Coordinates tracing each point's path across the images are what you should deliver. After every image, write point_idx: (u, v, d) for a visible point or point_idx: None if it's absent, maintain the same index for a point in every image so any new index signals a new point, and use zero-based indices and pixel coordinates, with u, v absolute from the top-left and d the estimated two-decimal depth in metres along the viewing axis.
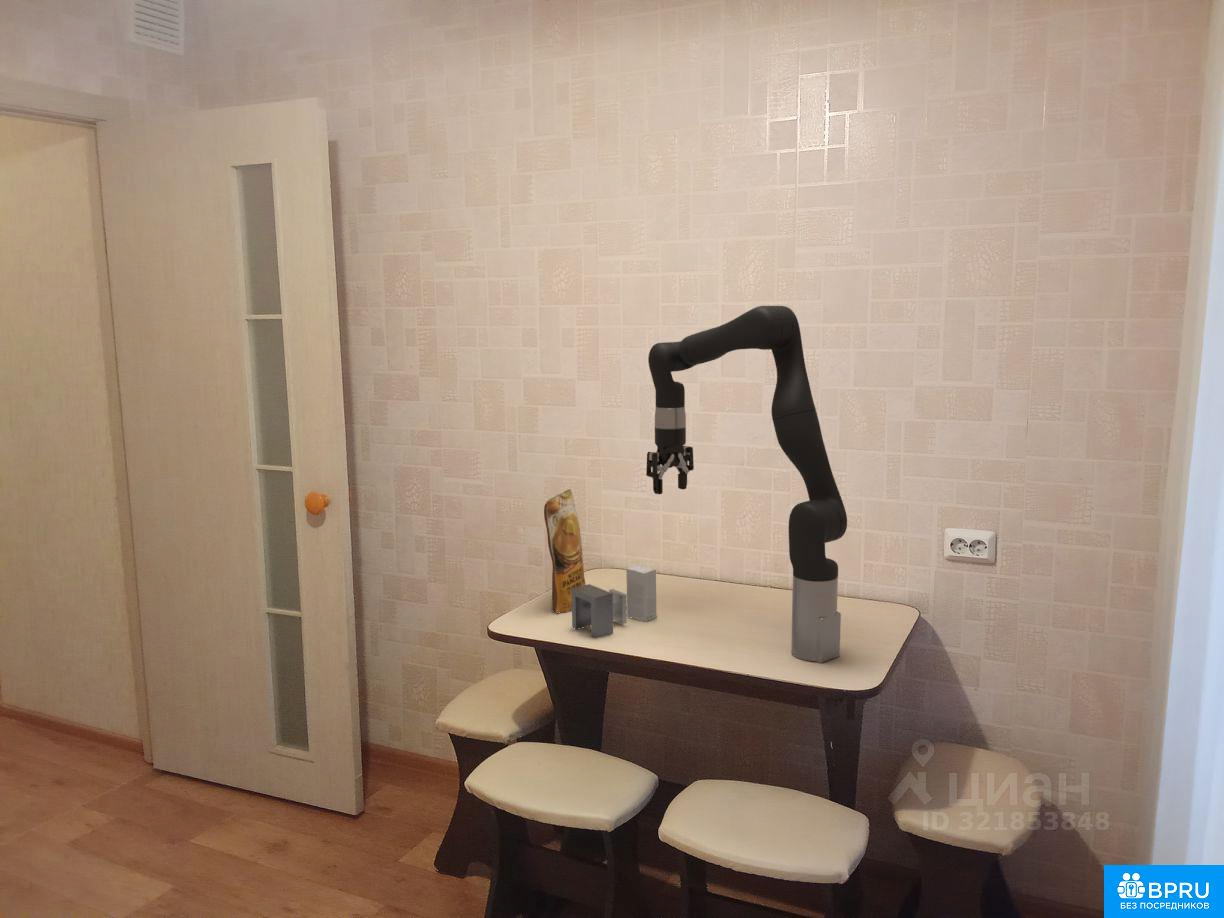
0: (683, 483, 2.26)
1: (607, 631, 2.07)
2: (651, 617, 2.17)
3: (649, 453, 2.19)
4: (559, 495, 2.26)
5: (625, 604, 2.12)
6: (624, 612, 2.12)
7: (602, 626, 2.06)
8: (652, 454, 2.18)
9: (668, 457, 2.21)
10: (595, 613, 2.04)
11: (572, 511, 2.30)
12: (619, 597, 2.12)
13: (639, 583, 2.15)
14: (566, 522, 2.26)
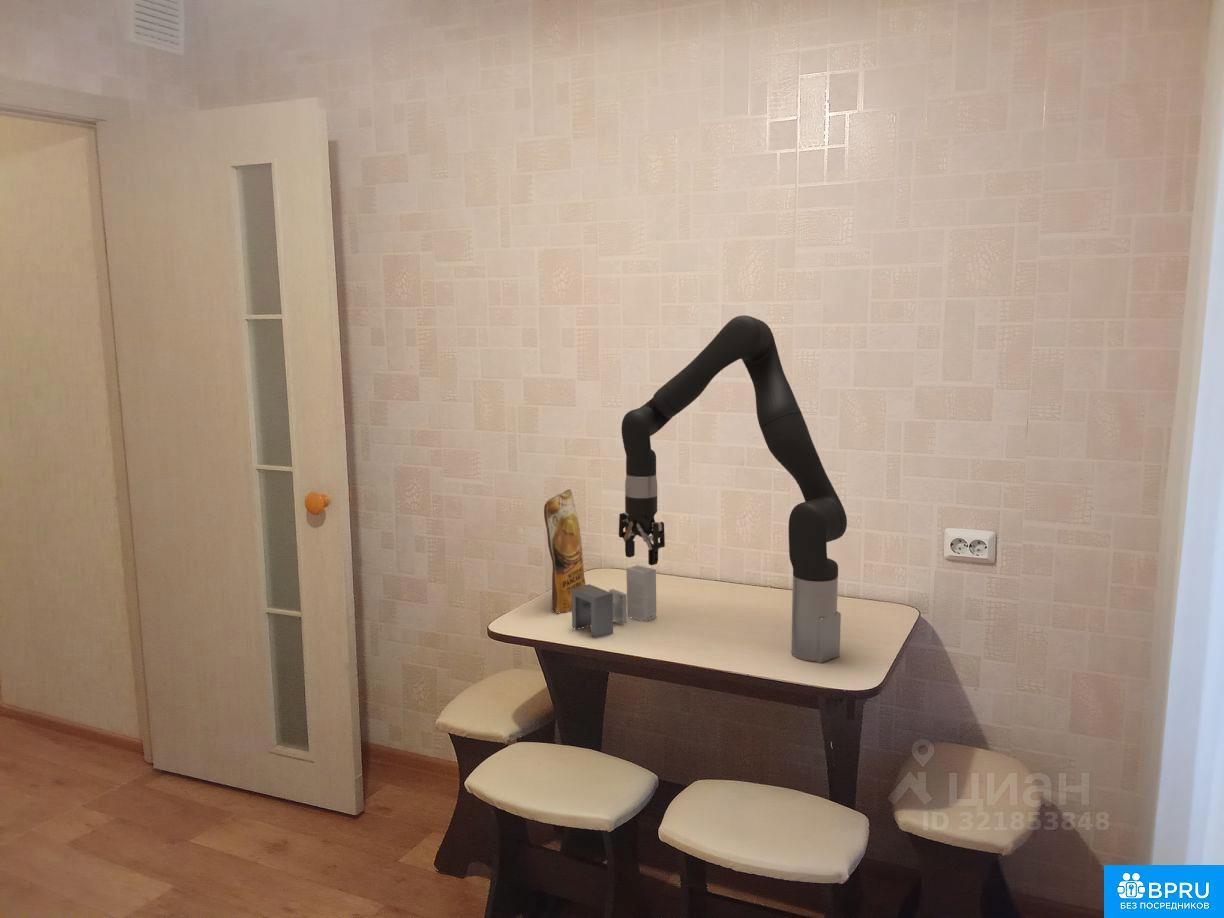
0: (633, 550, 2.20)
1: (607, 631, 2.07)
2: (651, 617, 2.17)
3: (658, 524, 2.10)
4: (559, 495, 2.26)
5: (625, 604, 2.12)
6: (624, 612, 2.12)
7: (602, 626, 2.06)
8: (661, 524, 2.10)
9: None
10: (595, 613, 2.04)
11: (571, 511, 2.30)
12: (619, 597, 2.12)
13: (639, 583, 2.15)
14: (566, 522, 2.26)
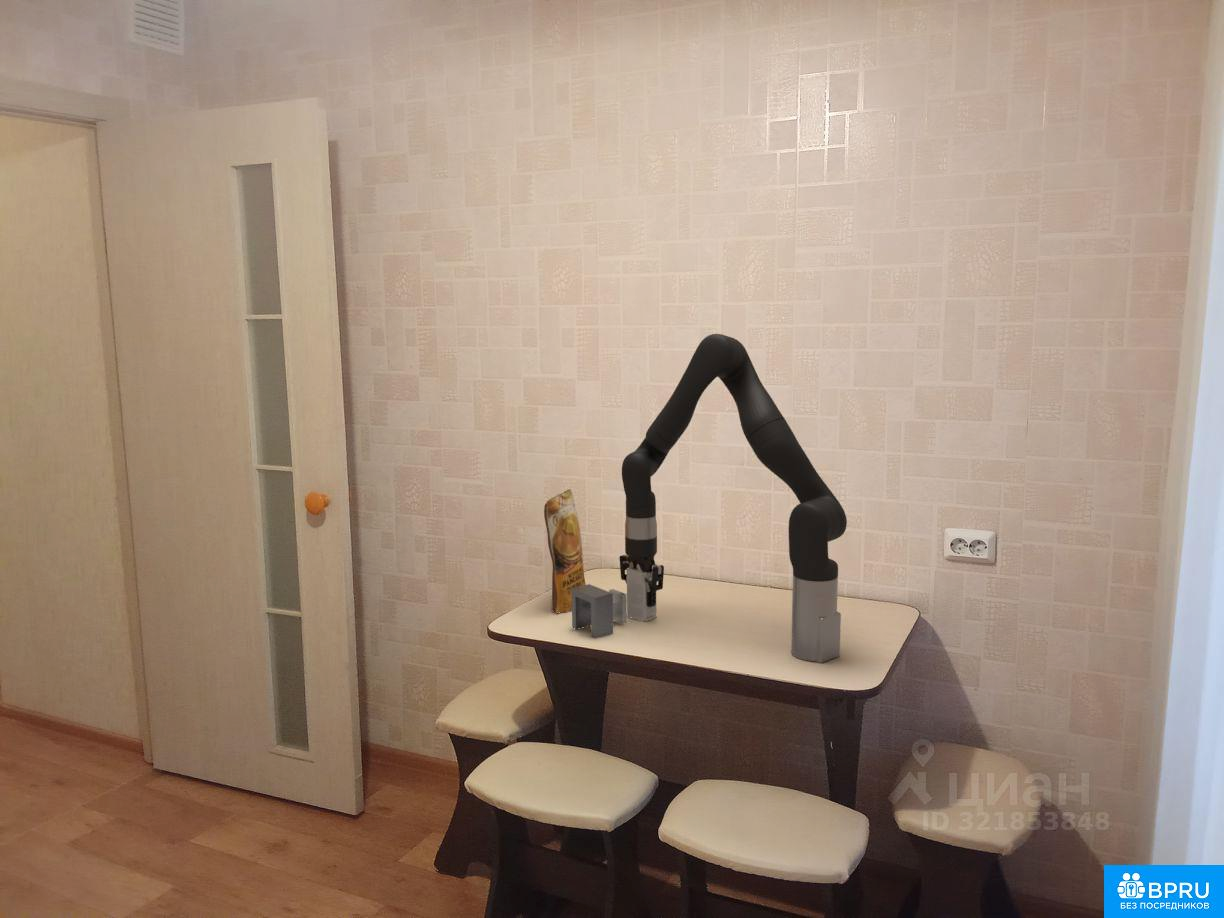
0: None
1: (607, 631, 2.07)
2: (651, 617, 2.17)
3: (658, 568, 2.11)
4: (559, 495, 2.26)
5: (625, 604, 2.12)
6: (624, 612, 2.12)
7: (602, 626, 2.06)
8: (661, 568, 2.12)
9: None
10: (595, 613, 2.04)
11: (572, 511, 2.30)
12: (619, 597, 2.12)
13: (639, 583, 2.15)
14: (566, 522, 2.26)
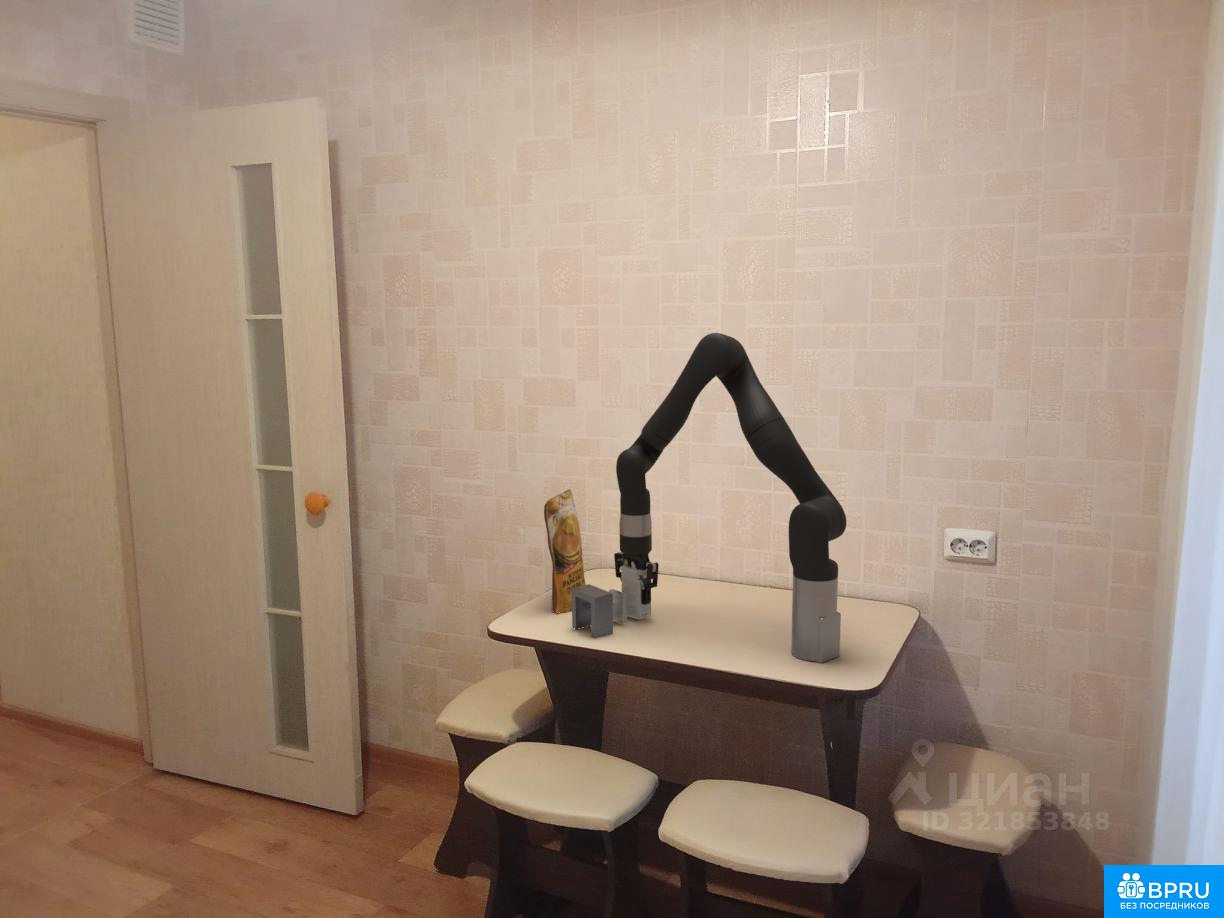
0: None
1: (607, 631, 2.07)
2: (646, 615, 2.16)
3: (652, 565, 2.10)
4: (559, 495, 2.26)
5: (625, 604, 2.12)
6: (624, 612, 2.12)
7: (602, 626, 2.06)
8: (656, 565, 2.11)
9: None
10: (595, 613, 2.04)
11: (571, 511, 2.30)
12: (619, 597, 2.12)
13: (634, 581, 2.14)
14: (566, 522, 2.26)
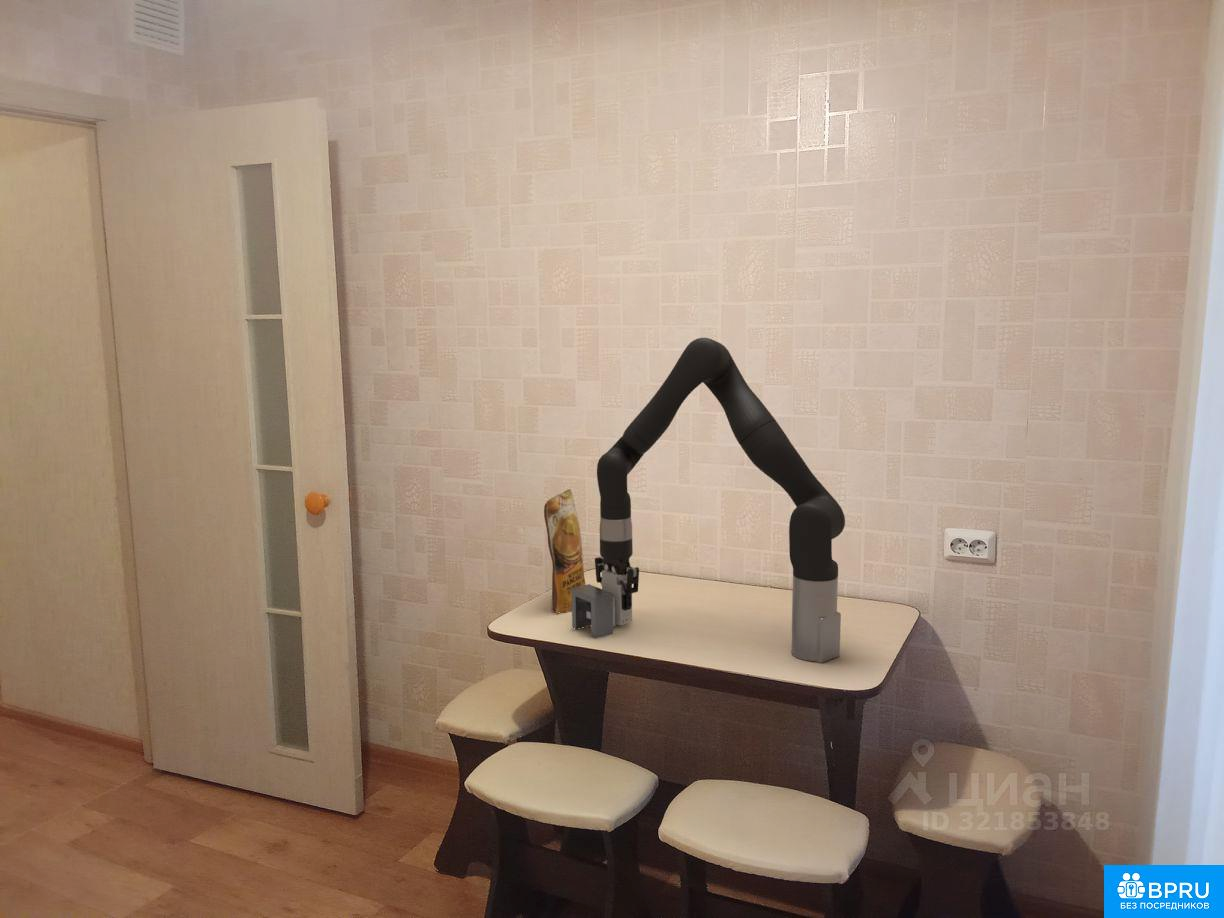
0: None
1: (607, 631, 2.07)
2: (627, 620, 2.12)
3: (632, 570, 2.07)
4: (559, 495, 2.26)
5: (613, 607, 2.10)
6: None
7: (602, 626, 2.06)
8: (636, 570, 2.07)
9: None
10: (595, 613, 2.04)
11: (572, 511, 2.30)
12: None
13: (614, 586, 2.11)
14: (566, 522, 2.26)
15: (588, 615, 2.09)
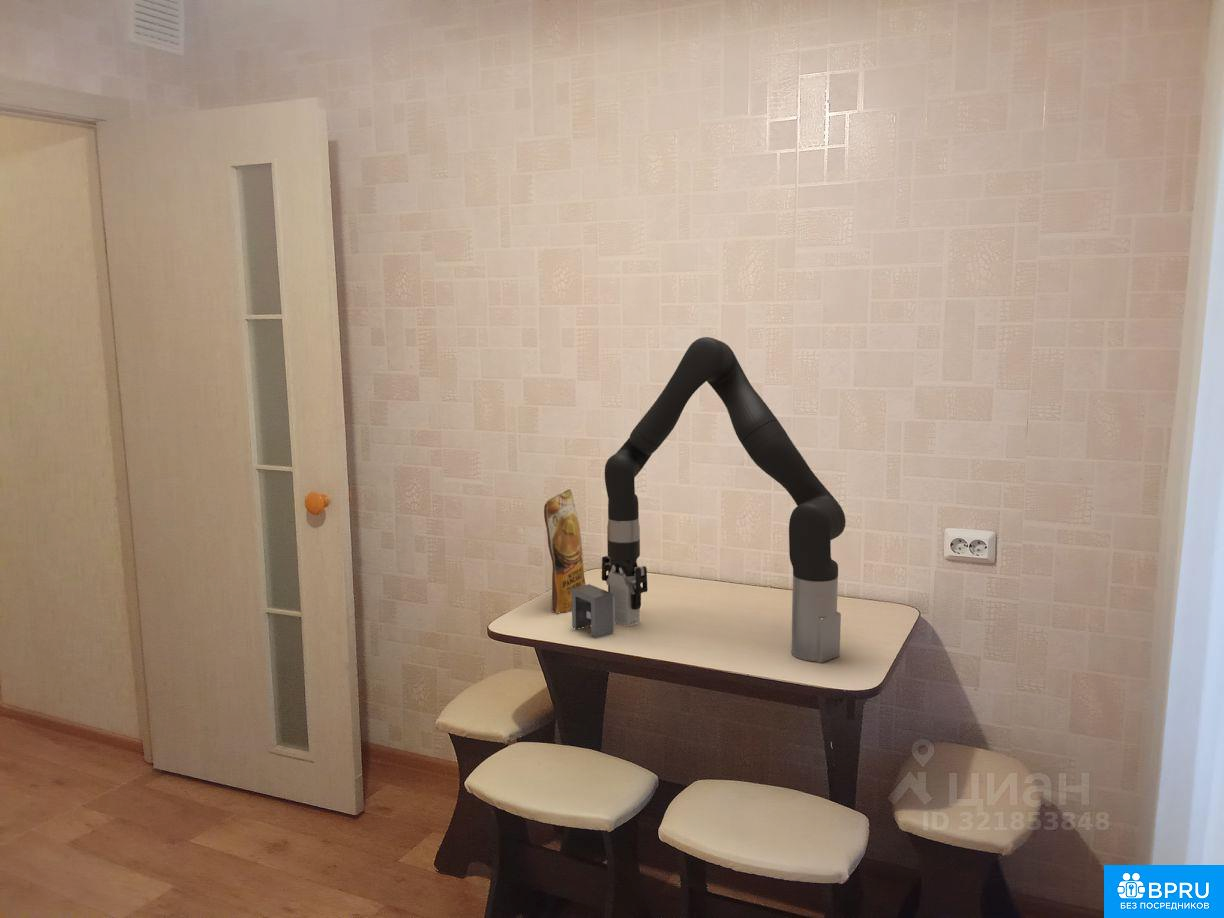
0: None
1: (607, 631, 2.07)
2: (634, 622, 2.14)
3: (640, 569, 2.08)
4: (559, 495, 2.26)
5: (613, 607, 2.10)
6: None
7: (602, 626, 2.06)
8: (644, 569, 2.09)
9: None
10: (595, 613, 2.04)
11: (571, 511, 2.30)
12: None
13: (622, 588, 2.12)
14: (566, 522, 2.26)
15: (588, 615, 2.09)
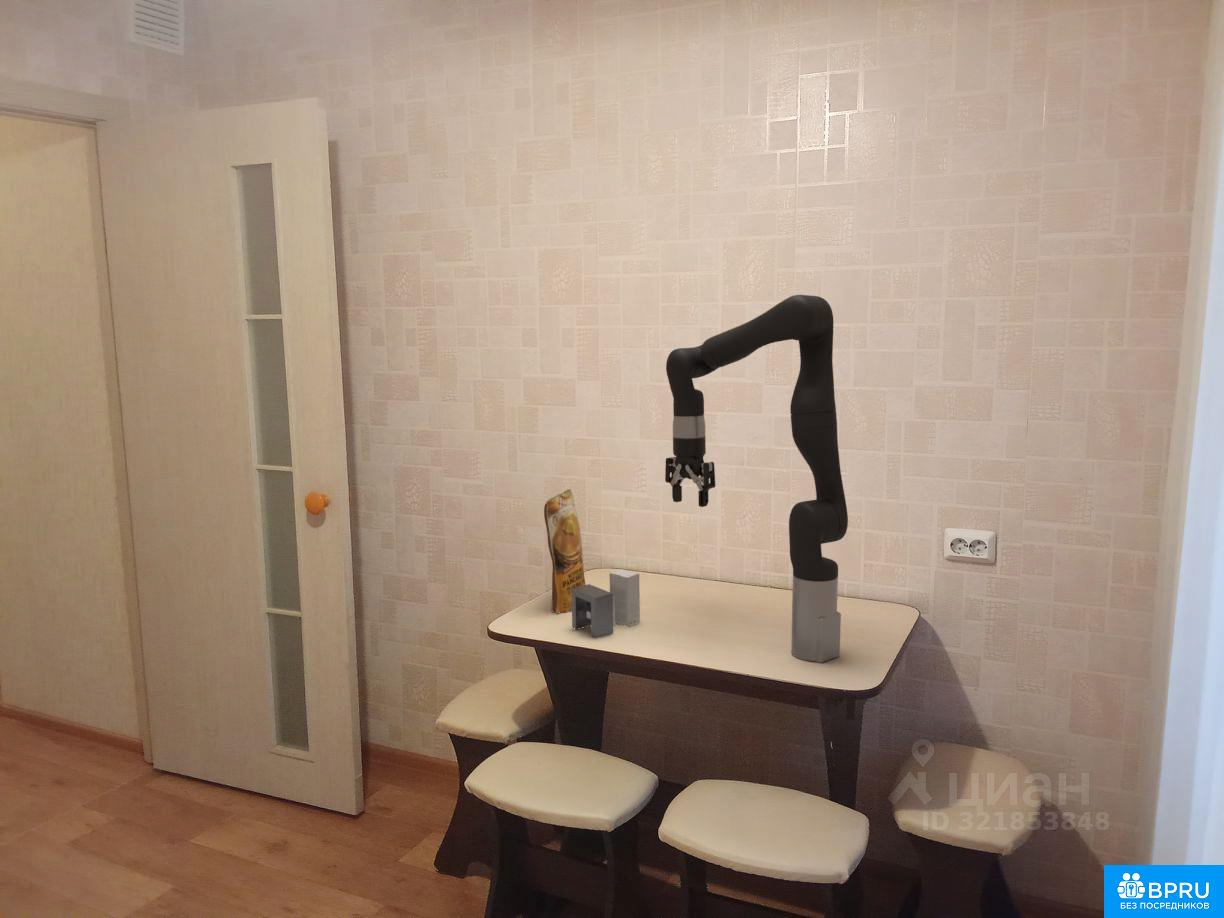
0: (680, 495, 2.18)
1: (607, 631, 2.07)
2: (634, 622, 2.14)
3: (708, 464, 2.07)
4: (559, 495, 2.26)
5: (613, 607, 2.10)
6: None
7: (602, 626, 2.06)
8: (712, 464, 2.08)
9: None
10: (595, 613, 2.04)
11: (572, 511, 2.30)
12: None
13: (622, 588, 2.12)
14: (566, 522, 2.26)
15: (588, 615, 2.09)
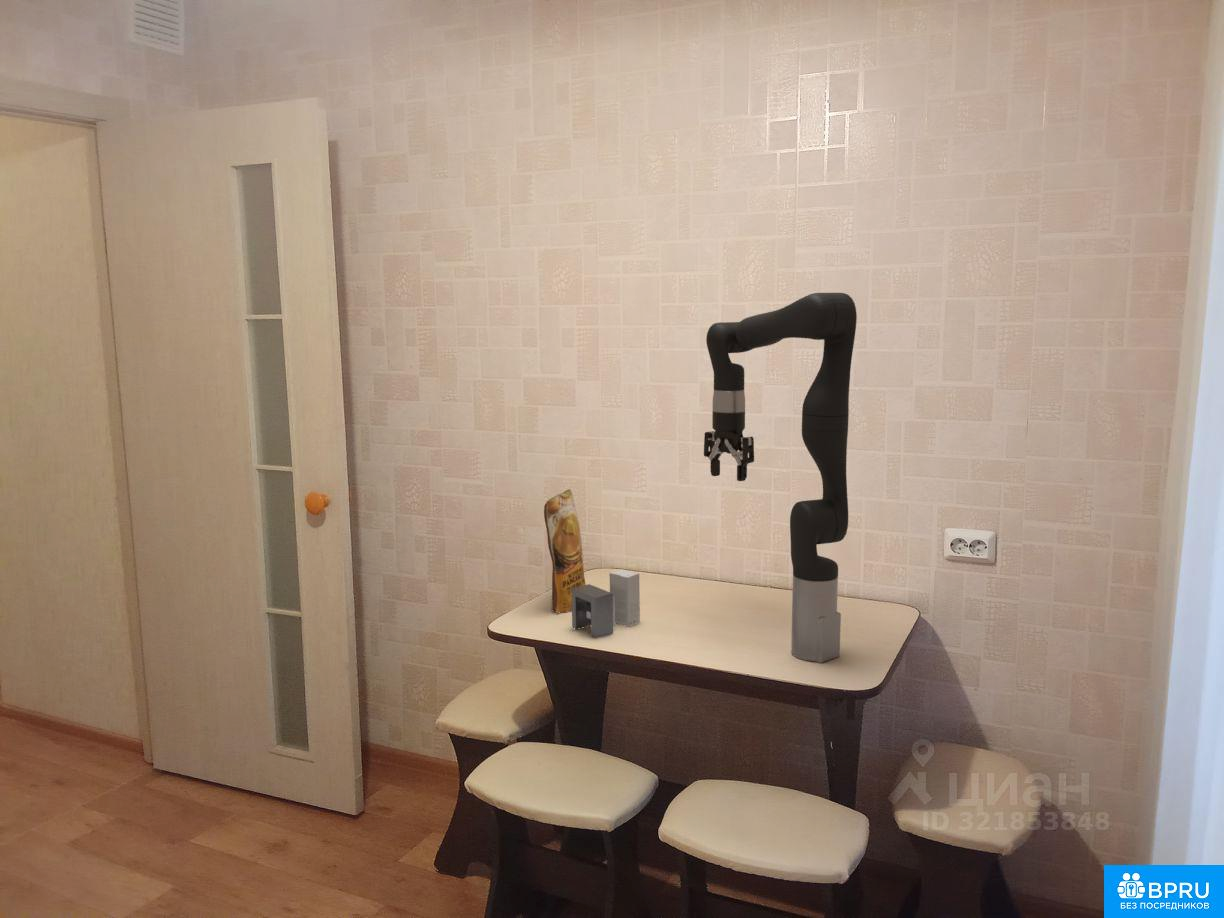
0: (718, 469, 2.19)
1: (607, 631, 2.07)
2: (634, 622, 2.14)
3: (747, 438, 2.08)
4: (559, 495, 2.26)
5: (613, 607, 2.10)
6: None
7: (602, 626, 2.06)
8: (751, 438, 2.09)
9: None
10: (595, 613, 2.04)
11: (571, 511, 2.30)
12: None
13: (622, 588, 2.12)
14: (566, 522, 2.26)
15: (588, 615, 2.09)
